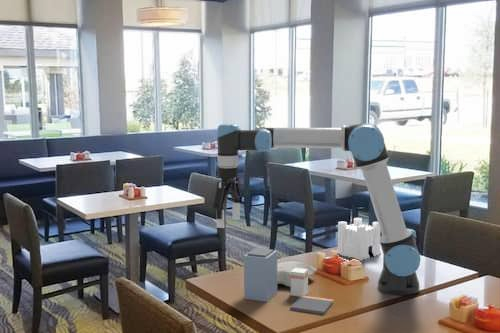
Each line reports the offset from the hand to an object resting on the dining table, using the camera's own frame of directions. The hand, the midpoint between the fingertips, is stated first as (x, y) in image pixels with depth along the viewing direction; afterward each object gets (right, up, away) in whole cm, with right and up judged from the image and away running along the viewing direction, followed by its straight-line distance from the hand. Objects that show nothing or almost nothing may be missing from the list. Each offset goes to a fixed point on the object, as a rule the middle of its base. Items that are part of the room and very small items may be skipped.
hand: (228, 223), depth 214 cm
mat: (+30, -28, -12) cm, 42 cm away
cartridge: (+26, -26, 0) cm, 37 cm away
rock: (+22, -25, +14) cm, 36 cm away
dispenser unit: (+12, -26, -1) cm, 29 cm away
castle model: (+58, -19, +50) cm, 79 cm away
